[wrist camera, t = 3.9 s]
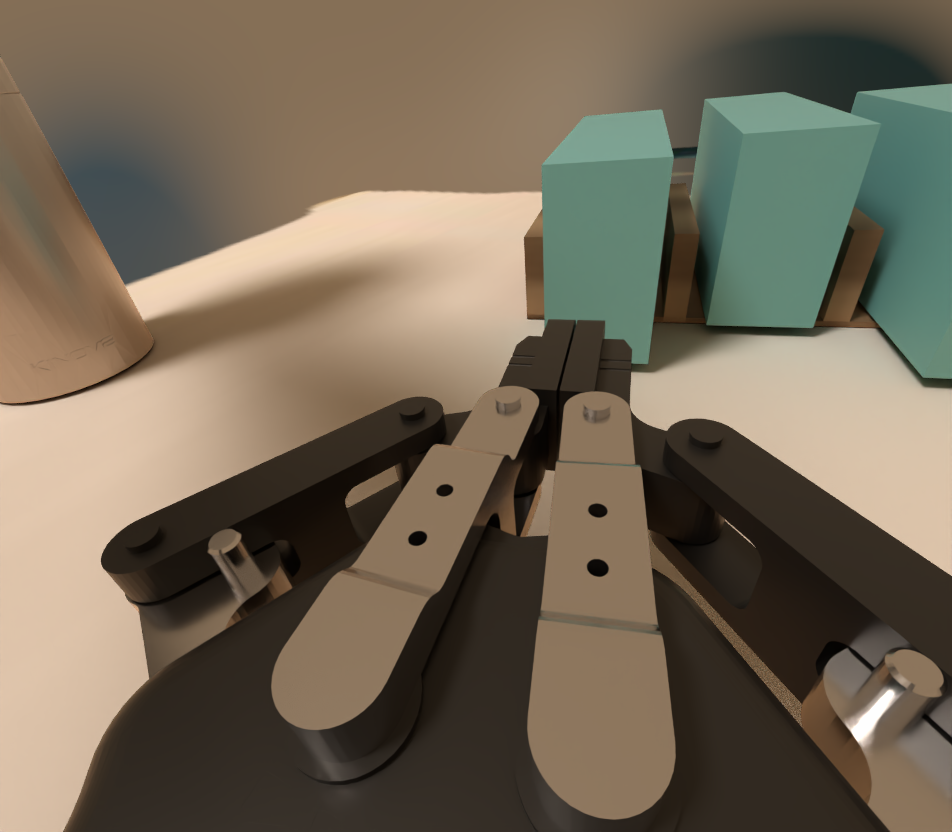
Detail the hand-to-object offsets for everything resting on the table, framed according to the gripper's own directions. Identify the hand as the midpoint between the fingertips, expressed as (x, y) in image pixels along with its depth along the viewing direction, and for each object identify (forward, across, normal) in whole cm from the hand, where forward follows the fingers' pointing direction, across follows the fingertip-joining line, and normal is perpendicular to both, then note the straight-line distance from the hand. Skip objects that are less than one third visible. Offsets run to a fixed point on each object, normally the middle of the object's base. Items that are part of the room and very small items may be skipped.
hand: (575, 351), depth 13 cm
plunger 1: (+19, 0, +6) cm, 20 cm away
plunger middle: (+23, -8, +6) cm, 25 cm away
